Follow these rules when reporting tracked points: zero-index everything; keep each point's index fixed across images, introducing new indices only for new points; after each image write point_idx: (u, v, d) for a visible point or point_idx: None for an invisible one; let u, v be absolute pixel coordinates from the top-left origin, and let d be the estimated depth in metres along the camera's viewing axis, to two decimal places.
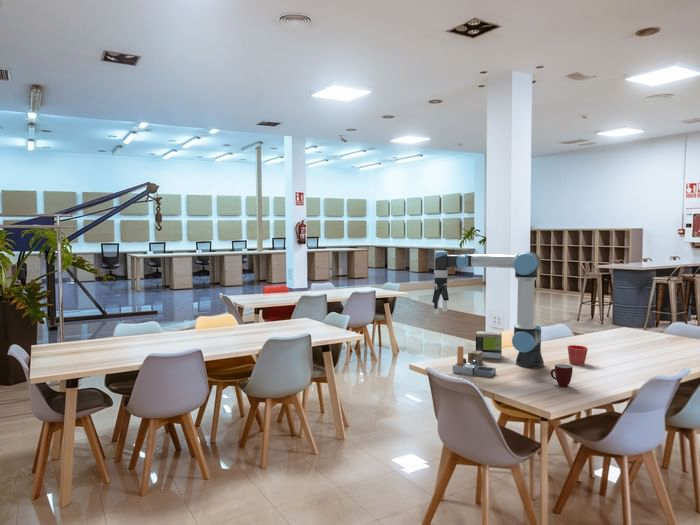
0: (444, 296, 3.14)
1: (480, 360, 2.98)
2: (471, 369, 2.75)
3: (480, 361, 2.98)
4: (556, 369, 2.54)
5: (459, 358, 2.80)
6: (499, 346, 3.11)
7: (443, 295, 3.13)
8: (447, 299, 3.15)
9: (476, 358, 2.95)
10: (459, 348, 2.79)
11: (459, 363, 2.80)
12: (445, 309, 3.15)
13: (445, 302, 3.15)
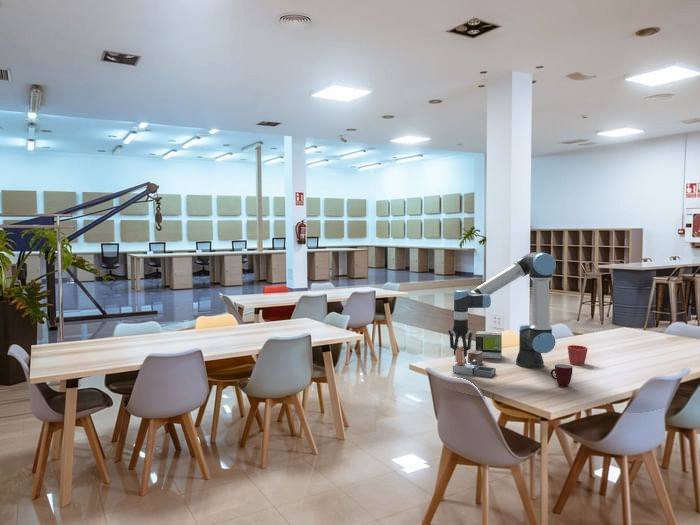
0: None
1: (480, 360, 2.98)
2: (471, 369, 2.75)
3: (480, 361, 2.98)
4: (556, 369, 2.54)
5: (459, 358, 2.80)
6: (499, 346, 3.11)
7: None
8: (464, 350, 2.78)
9: (476, 358, 2.95)
10: (459, 348, 2.80)
11: (459, 363, 2.80)
12: None
13: None
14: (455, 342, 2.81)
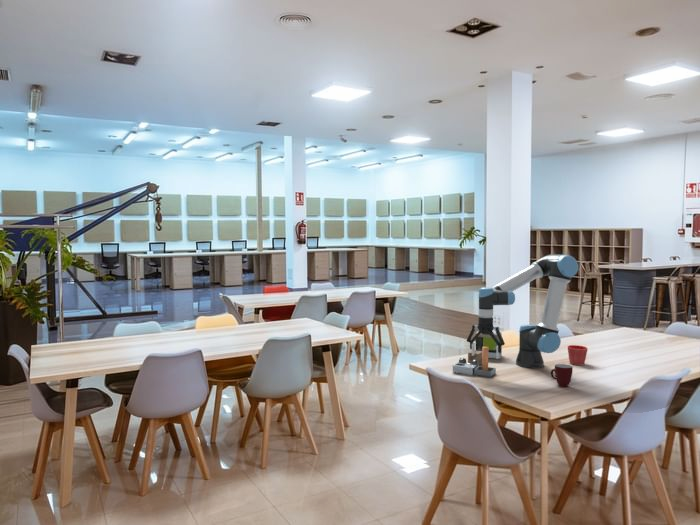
0: None
1: (480, 360, 2.98)
2: (471, 369, 2.75)
3: (480, 361, 2.98)
4: (556, 369, 2.54)
5: (484, 359, 2.75)
6: None
7: None
8: (498, 345, 2.71)
9: (476, 358, 2.95)
10: (484, 349, 2.75)
11: (484, 364, 2.75)
12: None
13: None
14: (474, 337, 2.77)
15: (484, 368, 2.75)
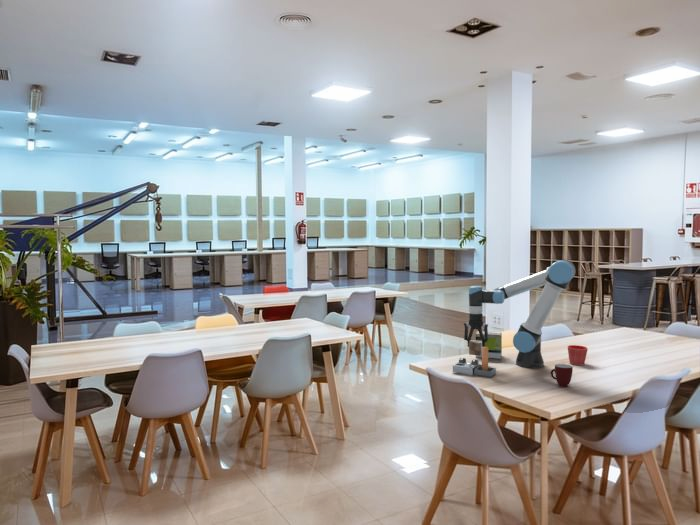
0: None
1: None
2: (471, 369, 2.75)
3: None
4: (556, 369, 2.54)
5: (484, 359, 2.75)
6: (499, 346, 3.11)
7: None
8: (482, 341, 2.95)
9: (477, 347, 2.94)
10: (484, 349, 2.74)
11: (484, 364, 2.75)
12: None
13: None
14: (469, 334, 2.99)
15: (484, 368, 2.75)
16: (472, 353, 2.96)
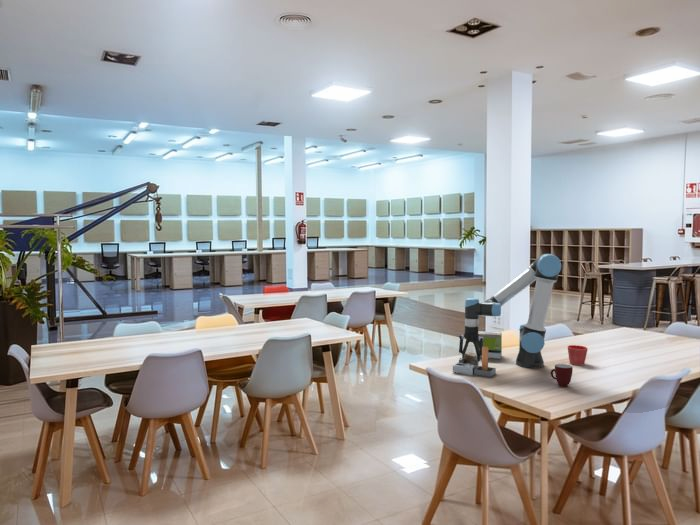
0: None
1: None
2: (471, 369, 2.75)
3: None
4: (556, 369, 2.54)
5: (484, 359, 2.75)
6: (499, 346, 3.11)
7: None
8: (477, 355, 2.89)
9: None
10: (484, 349, 2.75)
11: (484, 364, 2.75)
12: None
13: None
14: (464, 347, 2.93)
15: (484, 368, 2.75)
16: None
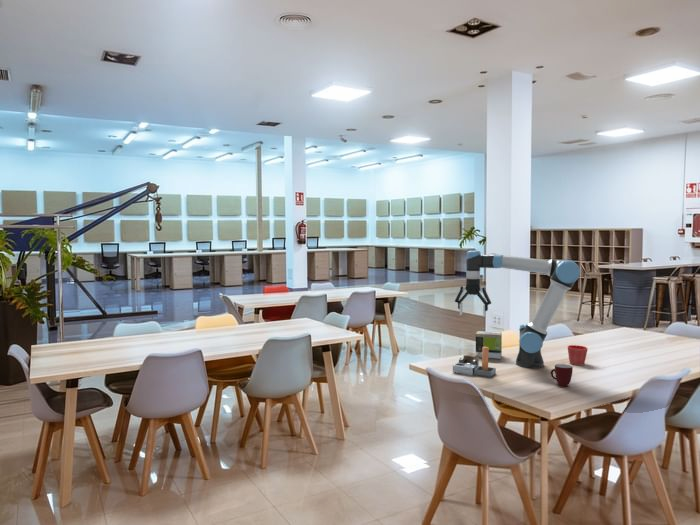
0: None
1: None
2: (471, 369, 2.75)
3: None
4: (556, 369, 2.54)
5: (484, 359, 2.75)
6: (499, 346, 3.11)
7: None
8: None
9: None
10: (484, 349, 2.74)
11: (484, 364, 2.75)
12: None
13: None
14: (462, 297, 2.94)
15: (484, 368, 2.75)
16: None
